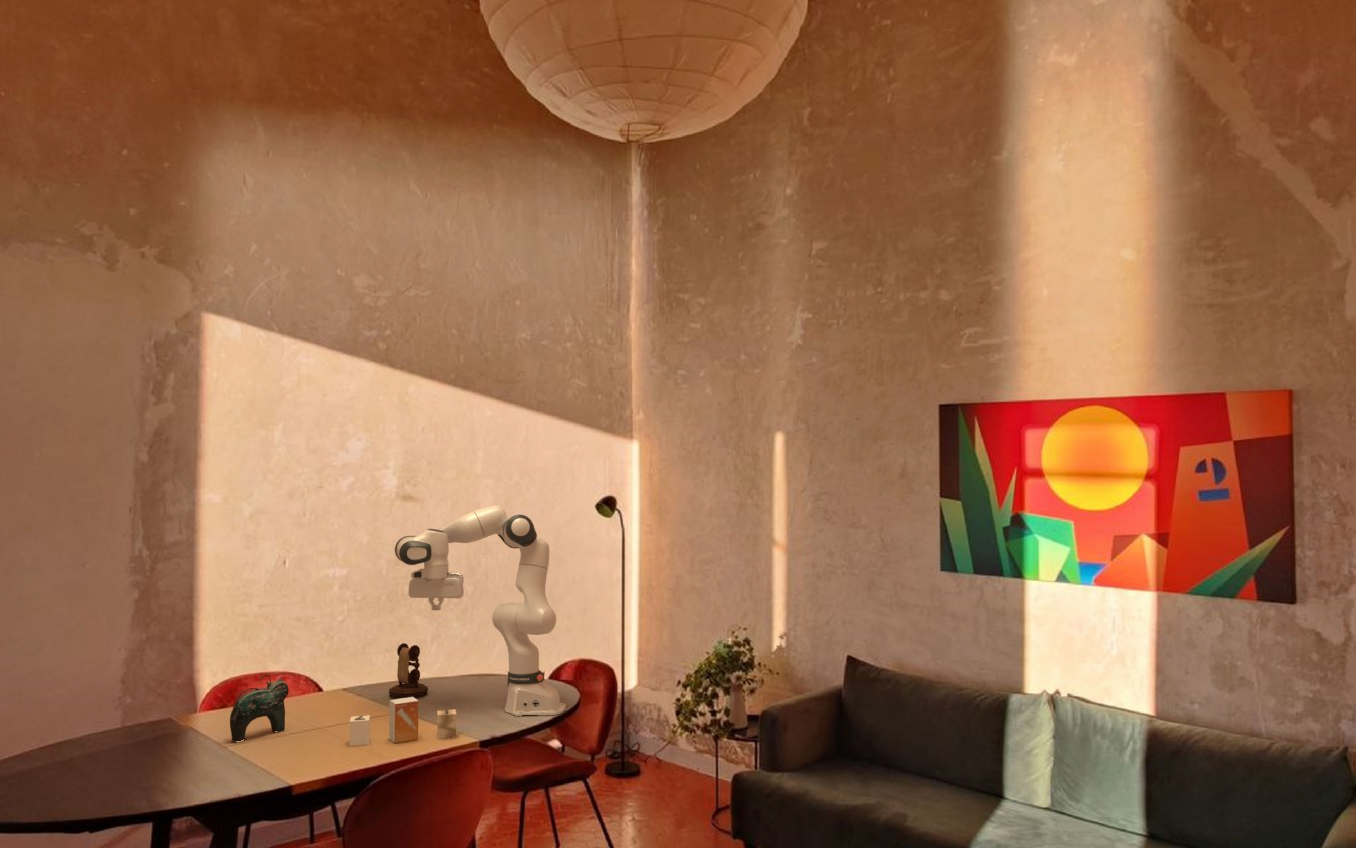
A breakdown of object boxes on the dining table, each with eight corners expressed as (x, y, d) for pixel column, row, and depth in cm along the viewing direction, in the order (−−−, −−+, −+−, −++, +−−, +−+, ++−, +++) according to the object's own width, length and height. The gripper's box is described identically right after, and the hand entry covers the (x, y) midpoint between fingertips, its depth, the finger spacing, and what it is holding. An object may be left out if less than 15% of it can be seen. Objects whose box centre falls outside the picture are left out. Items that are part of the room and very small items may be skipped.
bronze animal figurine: (281, 727, 336) (282, 669, 336) (292, 730, 332) (292, 672, 333) (226, 741, 320) (227, 681, 320) (237, 745, 316) (238, 683, 316)
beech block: (455, 733, 328) (455, 708, 329) (456, 738, 323) (456, 713, 323) (437, 734, 327) (437, 709, 327) (437, 739, 321) (437, 714, 321)
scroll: (381, 696, 377) (381, 645, 378) (411, 689, 389) (411, 639, 390) (405, 702, 369) (406, 649, 369) (435, 694, 381) (436, 643, 382)
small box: (394, 744, 316) (394, 704, 317) (388, 739, 322) (389, 699, 322) (418, 739, 321) (418, 700, 321) (412, 735, 326) (412, 696, 326)
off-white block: (369, 739, 321) (369, 714, 322) (369, 744, 316) (369, 719, 316) (350, 741, 320) (350, 715, 320) (349, 746, 314) (349, 720, 314)
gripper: (466, 571, 360) (466, 609, 359) (413, 571, 362) (413, 608, 361) (460, 574, 353) (460, 612, 353) (406, 573, 356) (406, 611, 355)
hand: (436, 610), depth 357 cm, fingers closed
